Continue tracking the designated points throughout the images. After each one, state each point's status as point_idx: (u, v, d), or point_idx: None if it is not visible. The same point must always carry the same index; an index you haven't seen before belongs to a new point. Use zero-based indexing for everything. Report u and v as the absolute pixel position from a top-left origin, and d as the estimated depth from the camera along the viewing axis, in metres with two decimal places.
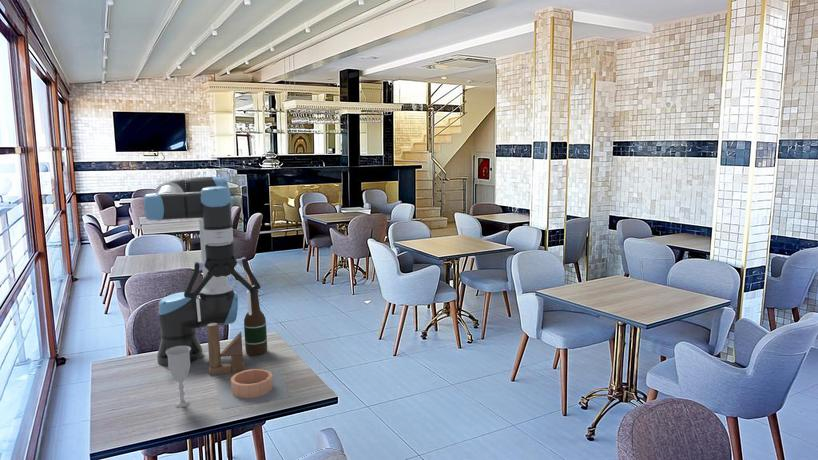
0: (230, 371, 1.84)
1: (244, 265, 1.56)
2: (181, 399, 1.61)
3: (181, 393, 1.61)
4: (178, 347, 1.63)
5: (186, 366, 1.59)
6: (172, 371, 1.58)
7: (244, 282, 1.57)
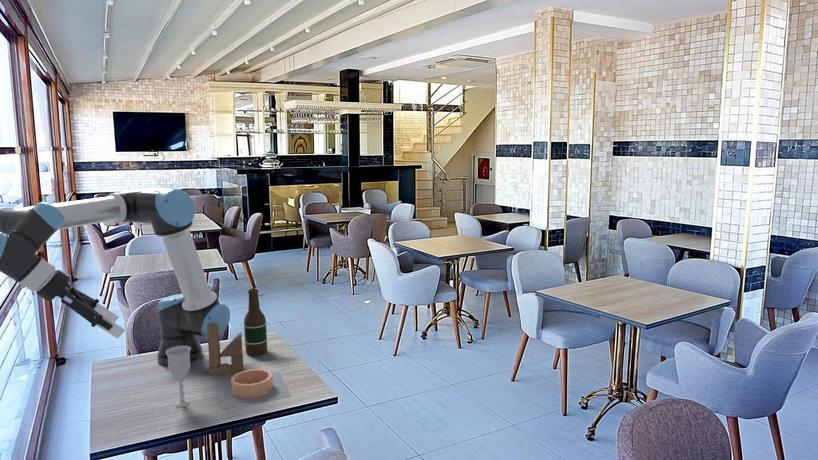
0: (230, 371, 1.84)
1: None
2: (181, 399, 1.61)
3: (181, 393, 1.61)
4: (178, 347, 1.63)
5: (186, 366, 1.59)
6: (172, 371, 1.58)
7: None
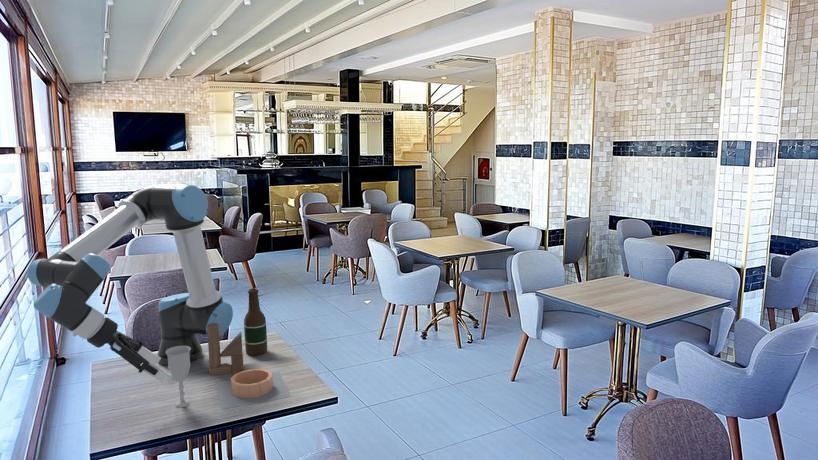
0: (230, 371, 1.84)
1: None
2: (181, 399, 1.61)
3: (181, 393, 1.61)
4: (178, 347, 1.63)
5: (186, 366, 1.59)
6: (172, 371, 1.58)
7: None
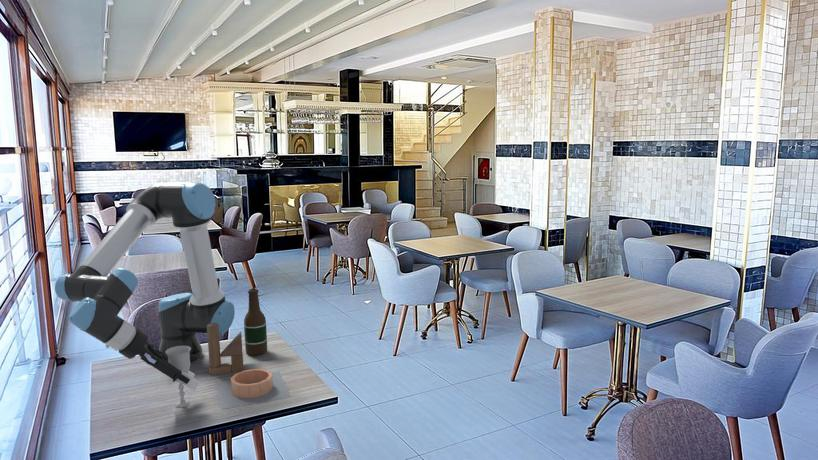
0: (230, 371, 1.84)
1: None
2: (181, 399, 1.61)
3: (181, 393, 1.61)
4: (178, 347, 1.63)
5: (187, 366, 1.59)
6: None
7: None
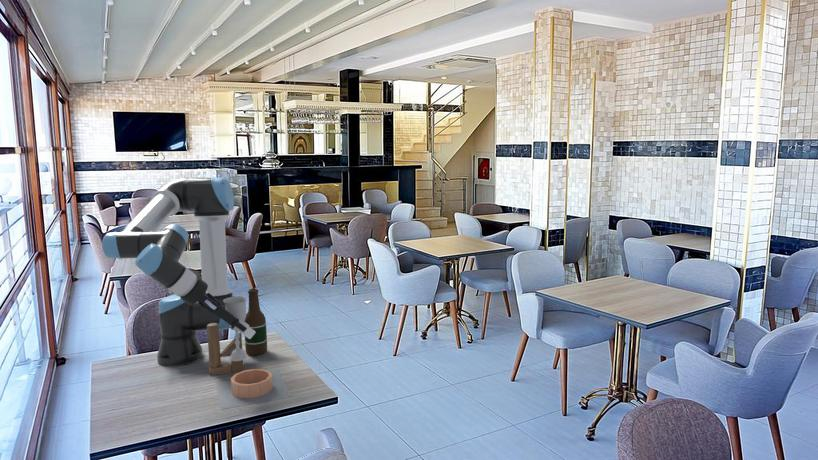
0: (230, 371, 1.84)
1: (211, 311, 1.56)
2: (237, 348, 1.66)
3: (237, 342, 1.66)
4: (234, 298, 1.68)
5: (243, 315, 1.64)
6: None
7: None
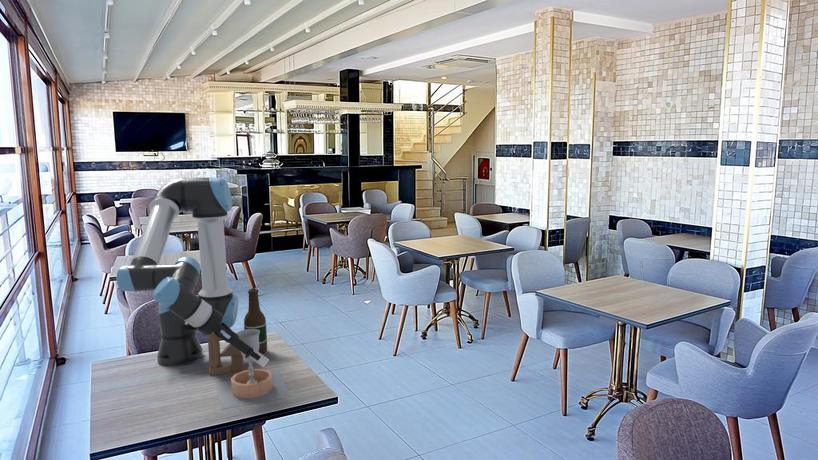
0: (230, 371, 1.84)
1: (226, 340, 1.59)
2: (251, 379, 1.71)
3: (251, 373, 1.70)
4: (247, 330, 1.72)
5: (257, 347, 1.69)
6: None
7: None
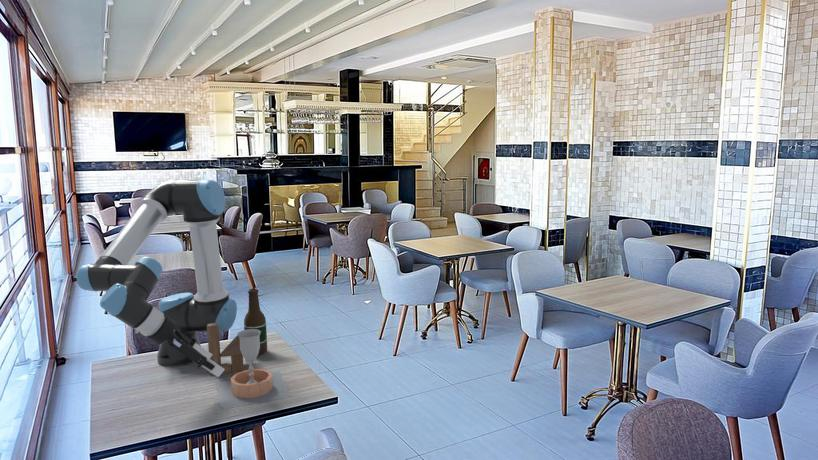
0: (230, 371, 1.84)
1: (176, 348, 1.52)
2: (251, 379, 1.71)
3: (251, 374, 1.70)
4: (248, 330, 1.72)
5: (257, 348, 1.68)
6: (244, 353, 1.67)
7: None
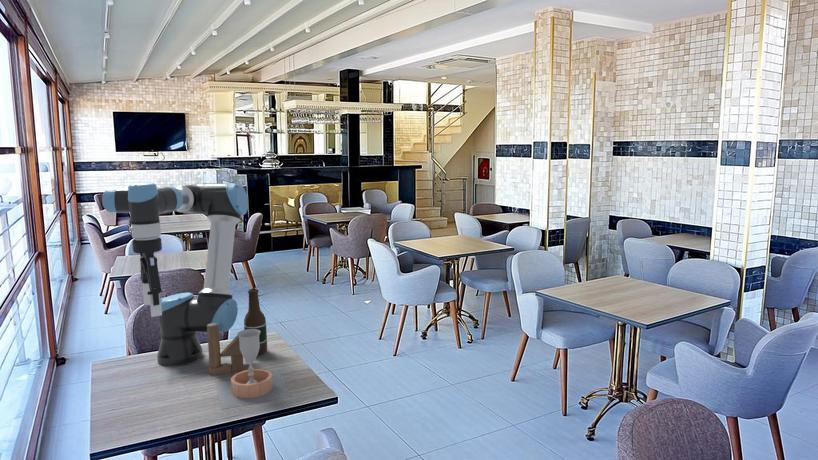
0: (230, 371, 1.84)
1: (147, 265, 1.54)
2: (251, 379, 1.71)
3: (251, 374, 1.70)
4: (247, 330, 1.72)
5: (257, 348, 1.69)
6: (244, 352, 1.67)
7: (148, 282, 1.55)
